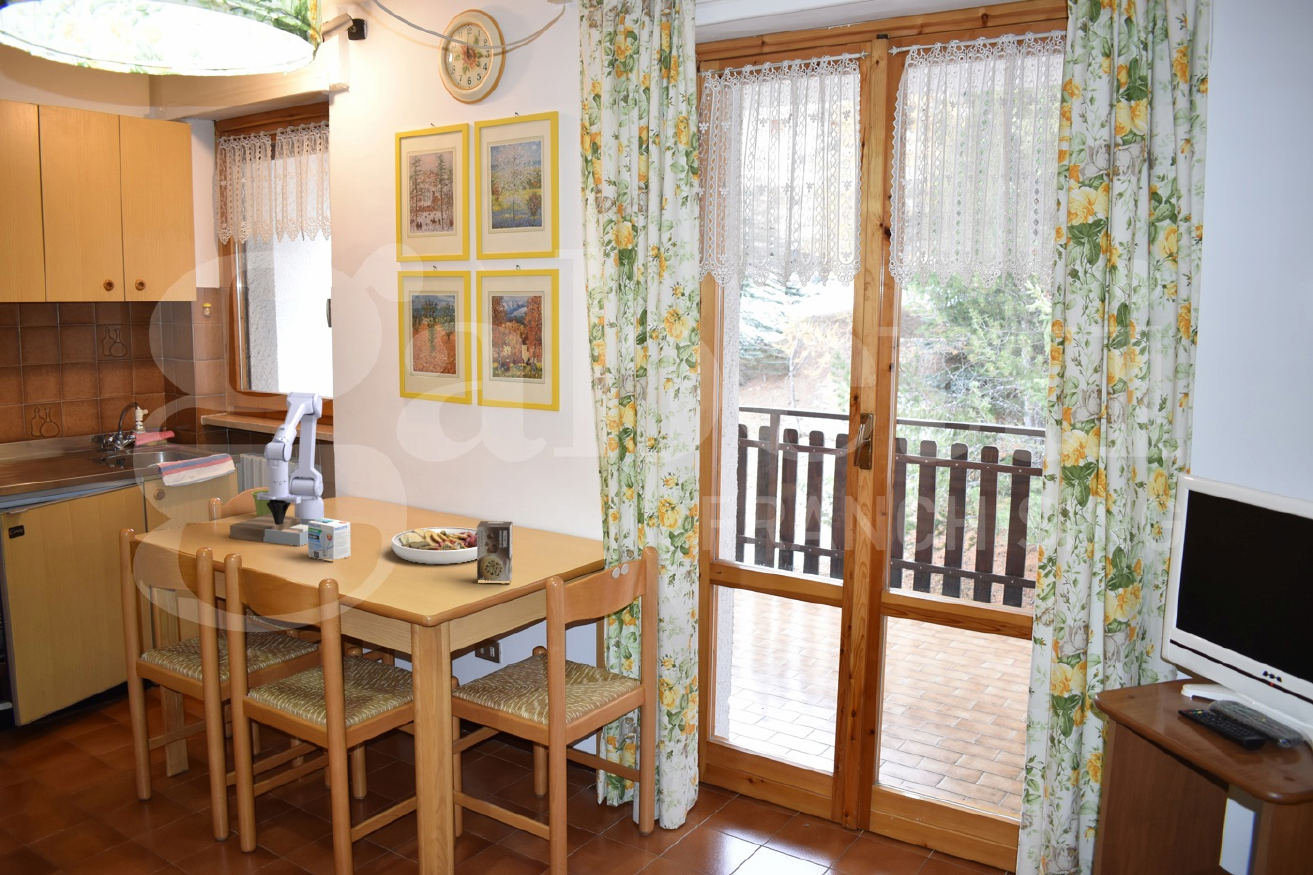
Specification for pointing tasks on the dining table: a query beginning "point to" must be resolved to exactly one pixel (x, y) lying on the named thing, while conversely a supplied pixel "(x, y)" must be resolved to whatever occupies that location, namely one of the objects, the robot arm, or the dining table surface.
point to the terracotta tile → (290, 530)
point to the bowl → (437, 545)
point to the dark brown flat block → (260, 527)
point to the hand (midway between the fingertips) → (279, 524)
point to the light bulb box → (328, 539)
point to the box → (288, 535)
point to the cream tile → (299, 528)
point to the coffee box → (494, 551)
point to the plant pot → (261, 504)
